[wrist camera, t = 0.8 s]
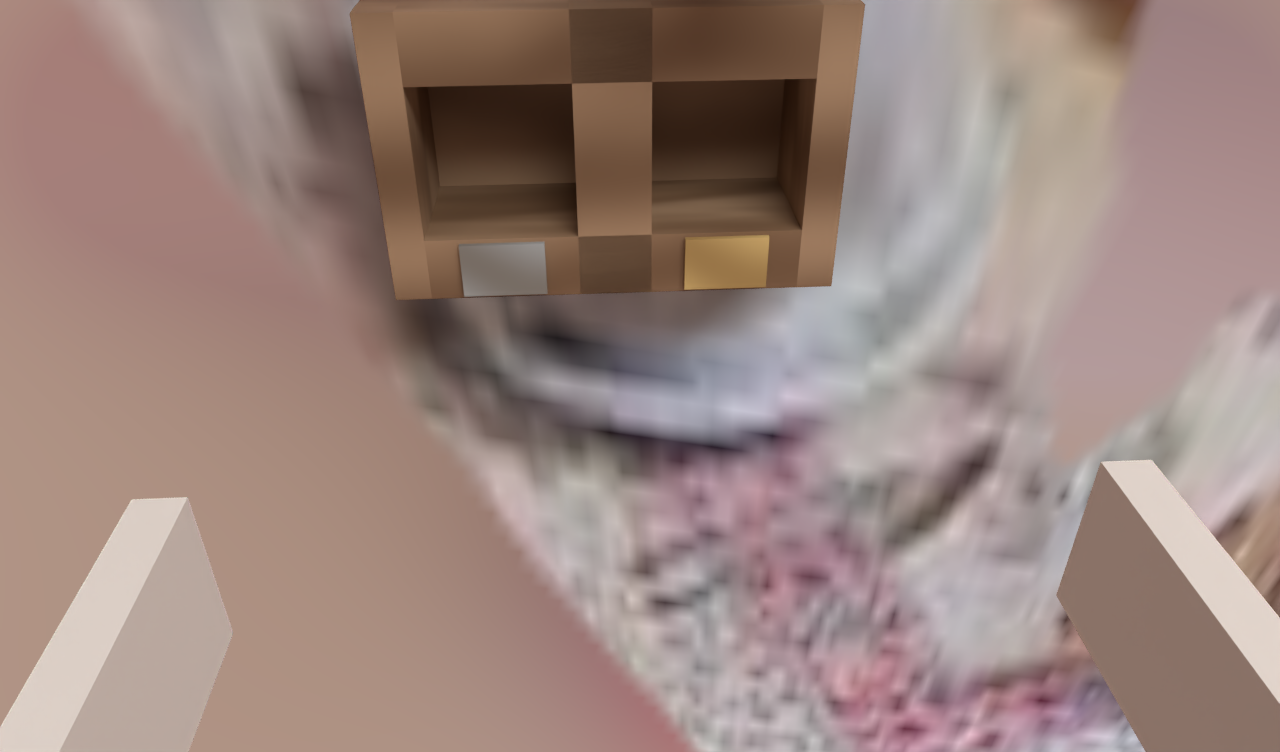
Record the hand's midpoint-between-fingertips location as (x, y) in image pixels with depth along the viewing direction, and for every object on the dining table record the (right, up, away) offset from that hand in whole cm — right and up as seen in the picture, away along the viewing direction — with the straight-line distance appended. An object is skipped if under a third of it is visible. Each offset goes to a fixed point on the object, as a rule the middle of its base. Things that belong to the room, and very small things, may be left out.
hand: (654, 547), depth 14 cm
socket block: (-1, +13, +23) cm, 27 cm away
